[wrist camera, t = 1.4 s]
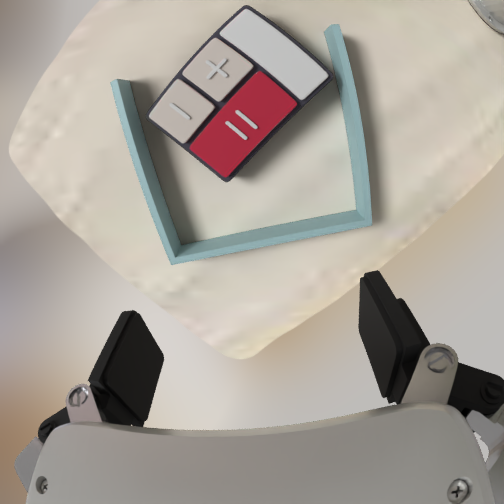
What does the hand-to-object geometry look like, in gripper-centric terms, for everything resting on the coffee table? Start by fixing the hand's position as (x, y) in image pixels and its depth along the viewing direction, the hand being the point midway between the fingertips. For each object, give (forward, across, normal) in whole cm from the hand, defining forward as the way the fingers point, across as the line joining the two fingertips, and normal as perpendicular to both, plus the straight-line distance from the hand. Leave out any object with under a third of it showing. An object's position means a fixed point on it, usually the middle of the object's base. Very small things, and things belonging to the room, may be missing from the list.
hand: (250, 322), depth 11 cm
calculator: (+21, -1, -10) cm, 24 cm away
